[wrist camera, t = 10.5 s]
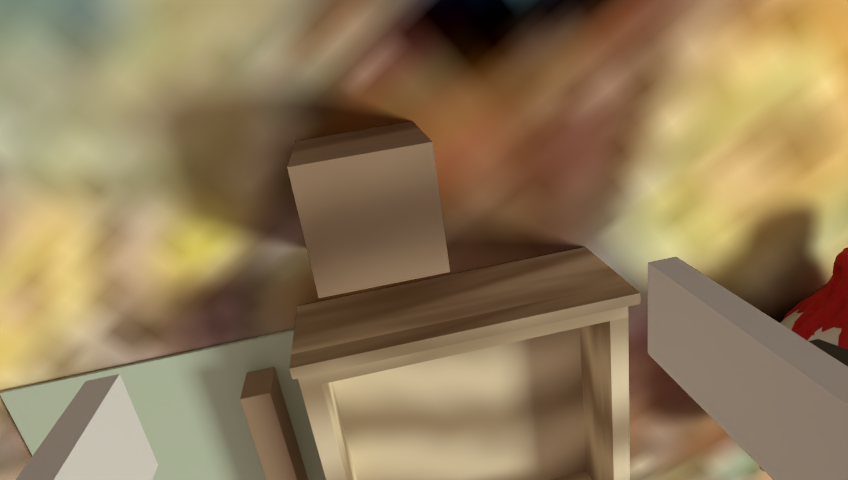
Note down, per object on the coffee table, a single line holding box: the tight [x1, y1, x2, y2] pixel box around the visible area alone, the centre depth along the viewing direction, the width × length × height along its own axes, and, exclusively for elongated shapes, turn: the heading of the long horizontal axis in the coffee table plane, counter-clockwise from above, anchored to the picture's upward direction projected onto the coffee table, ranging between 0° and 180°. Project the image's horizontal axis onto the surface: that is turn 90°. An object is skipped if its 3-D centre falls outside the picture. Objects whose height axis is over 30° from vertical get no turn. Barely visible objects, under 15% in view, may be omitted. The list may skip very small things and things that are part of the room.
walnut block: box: [287, 121, 450, 298], centre depth 26 cm, size 6×6×6 cm
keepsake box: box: [289, 247, 640, 480], centre depth 32 cm, size 18×17×6 cm
